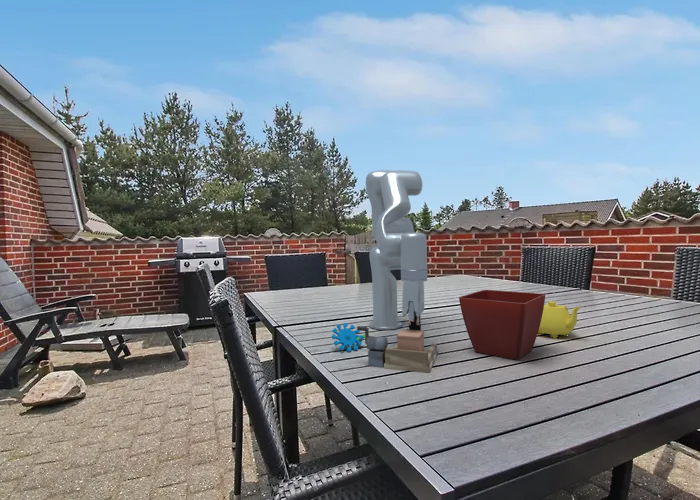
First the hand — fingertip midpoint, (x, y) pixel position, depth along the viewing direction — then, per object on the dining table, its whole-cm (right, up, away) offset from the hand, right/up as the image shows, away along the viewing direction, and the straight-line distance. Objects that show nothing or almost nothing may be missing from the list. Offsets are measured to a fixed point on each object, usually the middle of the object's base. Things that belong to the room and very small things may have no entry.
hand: (415, 338), depth 110 cm
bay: (-5, -5, -2) cm, 8 cm away
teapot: (+51, -4, +20) cm, 56 cm away
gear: (-19, -6, +9) cm, 22 cm away
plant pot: (+27, -5, +3) cm, 27 cm away
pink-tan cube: (-2, -4, -5) cm, 7 cm away
